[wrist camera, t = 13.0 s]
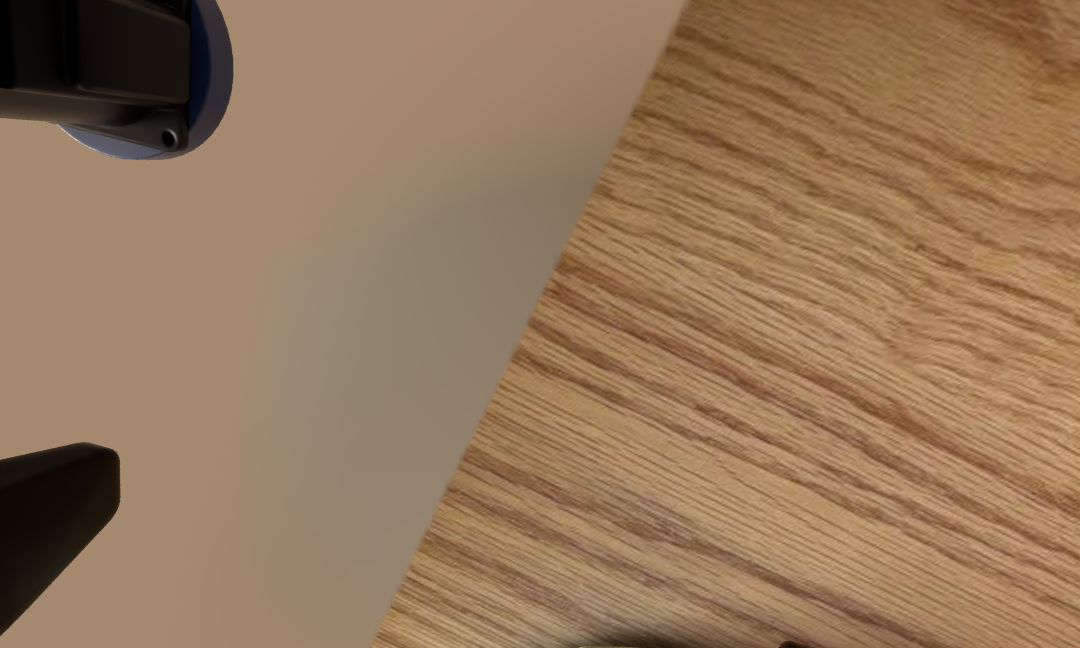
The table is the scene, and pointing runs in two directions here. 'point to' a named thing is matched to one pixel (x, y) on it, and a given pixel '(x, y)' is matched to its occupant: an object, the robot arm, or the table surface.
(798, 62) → the table surface
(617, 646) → the serving bowl
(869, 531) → the table surface
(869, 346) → the table surface
